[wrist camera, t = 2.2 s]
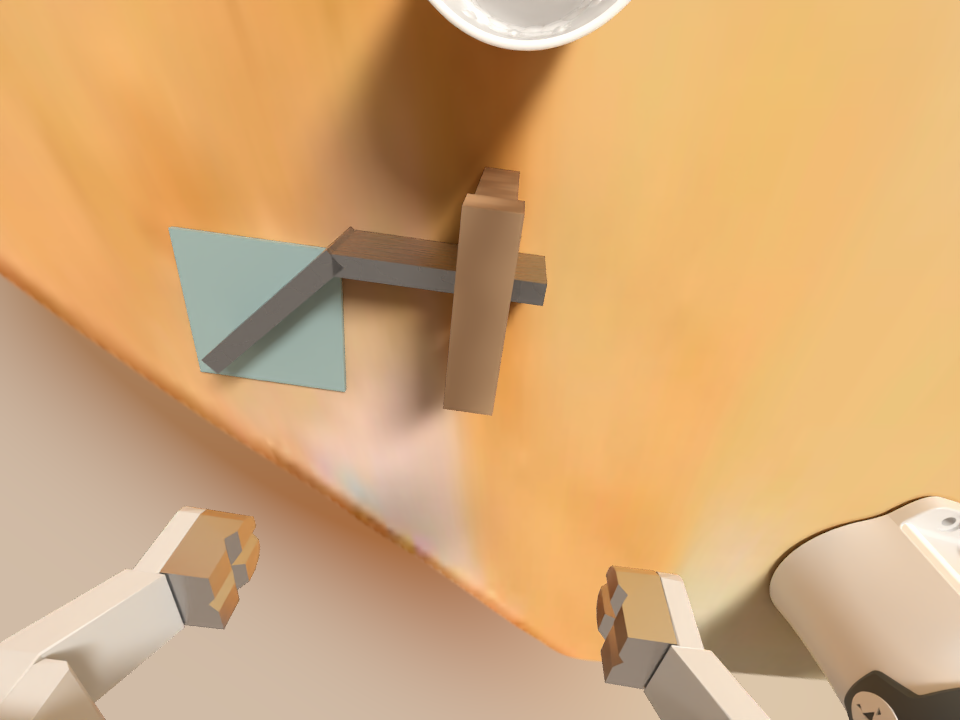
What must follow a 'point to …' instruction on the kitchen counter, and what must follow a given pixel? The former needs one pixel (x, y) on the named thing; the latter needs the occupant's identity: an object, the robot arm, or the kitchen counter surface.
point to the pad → (243, 289)
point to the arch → (483, 290)
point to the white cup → (528, 20)
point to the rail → (371, 280)
